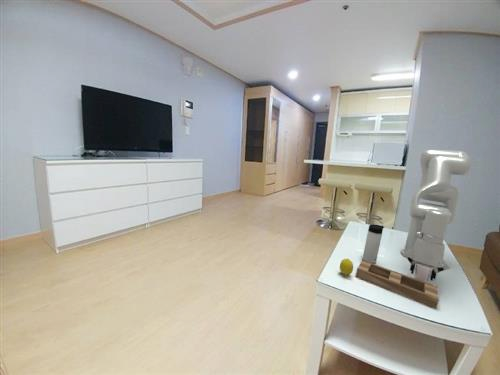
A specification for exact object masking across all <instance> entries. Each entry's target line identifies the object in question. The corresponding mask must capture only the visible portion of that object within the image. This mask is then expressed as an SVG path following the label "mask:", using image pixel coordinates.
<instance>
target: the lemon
mask: <svg viewBox="0 0 500 375" xmlns="http://www.w3.org/2000/svg"><path fill="white" fill-rule="evenodd" d="M339 270H340V271H341V273H342V274H343V275H344V276H347V275H348V276H349V275H350V274H352V273H353V270H354V263H353V261H352V260H350V259H349V258H343V259H342V260H341V262H340V264H339Z"/></svg>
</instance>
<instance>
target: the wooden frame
mask: <svg viewBox="0 0 500 375" xmlns="http://www.w3.org/2000/svg"><path fill="white" fill-rule="evenodd" d="M355 278H357V279H360V280H363V281H365V282H368V283H369V284H373V285H375V286H376V287H380V288H382V289H385V290H388V291H390V292H391V293H392V292H393V293H395V294H397V295H398V296H399V295H400V296H402V297H405V298H406V299H407V298H408V299H409V300H412V301H414V302H417V303H420V304H422V305H424V306H428V307H430V308H432V309H435V310H437V307H438V304H439V301H440V300H439V290H438V285H435V284H432V283H428V282H424V281H421V280H418V279H415V277H413V276H412V277H411V276H409V275H406V274H404V273H400V272H397V271H395V270H392V269H389V268H386V267H383V266H382V265H381V266H380V265H379V264H373V263H370V262H367V261H364V260H362V259H361V261H360V263H359V265H358V266H357V268H356V272H355Z"/></svg>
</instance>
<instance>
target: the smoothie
mask: <svg viewBox="0 0 500 375" xmlns="http://www.w3.org/2000/svg"><path fill="white" fill-rule="evenodd" d="M433 269H434V268H433V266H429V265H426V264H423V263H420V262H416V263H415V269H414V272H415V273H414V278H415V279H418V280H421V281H424V282H426V283H428V280H429V279H430V276H431V273H432V270H433Z"/></svg>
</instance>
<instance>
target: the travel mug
mask: <svg viewBox="0 0 500 375" xmlns="http://www.w3.org/2000/svg"><path fill="white" fill-rule="evenodd" d="M384 228H385V226H384V225H380V224H373V223H371V224H369V225H368V228H367V234H366V239H365V244H364V249H363V255H362V259H361V261H362V260H364V261H367V262H370V263H373V264H375V265H377V264H376V263H377V259H378V255H379V250H380V246H381V241H382V236H383V232H384V231H383V230H384Z"/></svg>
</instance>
